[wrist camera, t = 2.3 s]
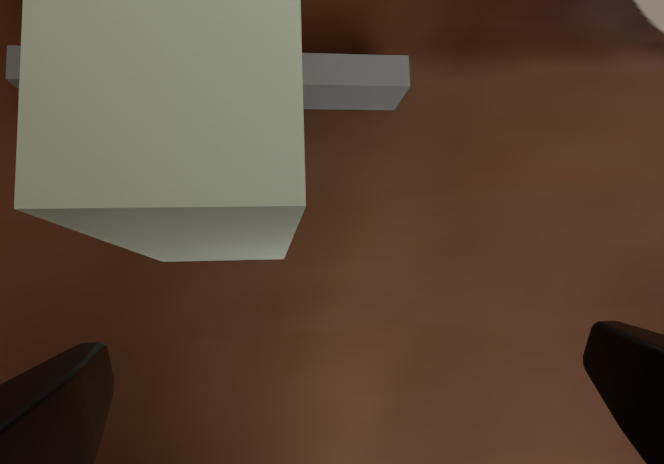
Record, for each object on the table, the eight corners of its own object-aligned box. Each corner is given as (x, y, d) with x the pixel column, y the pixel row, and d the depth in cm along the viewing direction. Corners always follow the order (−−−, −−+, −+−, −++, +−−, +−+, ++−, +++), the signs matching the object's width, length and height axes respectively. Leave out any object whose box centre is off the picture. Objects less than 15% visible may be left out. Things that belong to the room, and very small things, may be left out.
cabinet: (283, 259, 21) (305, 206, 9) (154, 261, 20) (-7, 209, 8) (281, 145, 21) (298, -48, 9) (155, 144, 21) (5, -63, 9)
